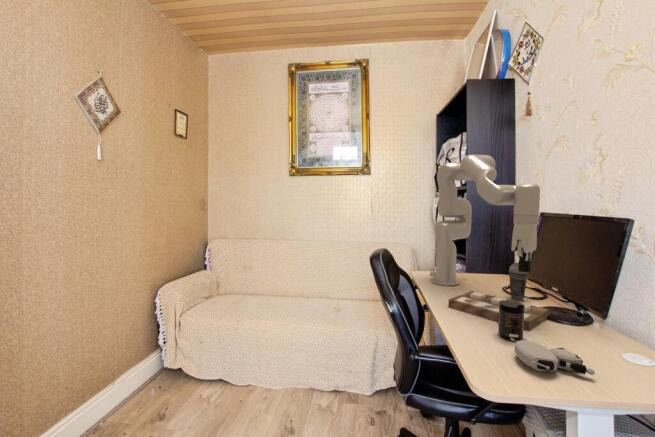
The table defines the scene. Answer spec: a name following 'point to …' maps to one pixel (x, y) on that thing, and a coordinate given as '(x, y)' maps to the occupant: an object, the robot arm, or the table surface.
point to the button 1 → (477, 296)
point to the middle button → (496, 300)
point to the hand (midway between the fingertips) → (524, 271)
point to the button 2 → (527, 308)
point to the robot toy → (549, 358)
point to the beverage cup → (517, 282)
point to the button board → (495, 309)
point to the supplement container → (511, 320)
